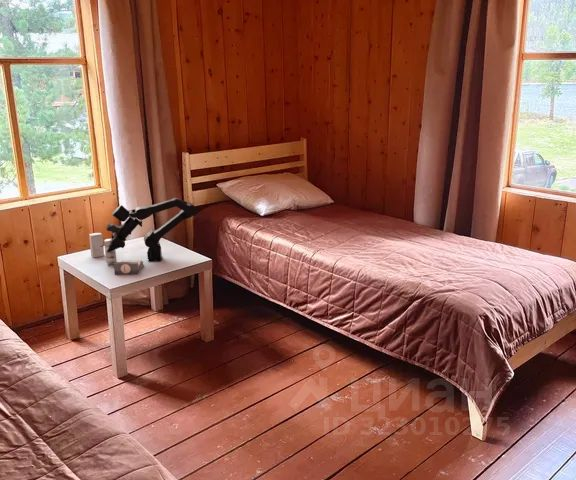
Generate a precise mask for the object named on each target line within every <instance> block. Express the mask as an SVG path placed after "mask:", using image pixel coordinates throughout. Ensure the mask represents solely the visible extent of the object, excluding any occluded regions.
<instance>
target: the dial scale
mask: <svg viewBox="0 0 576 480" xmlns="http://www.w3.org/2000/svg"><path fill="white" fill-rule="evenodd" d="M143 267H144V261H142V259H127V260H126V259H122V260H120V261H117V262H115V263H114V264H113V271H114V275H115V276H118V275H119V276H120V275H121V276H122V275H125V276H126V275H138V274H139V273H140V272H141V270H142V269H143Z"/></svg>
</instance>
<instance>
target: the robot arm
mask: <svg viewBox="0 0 576 480" xmlns="http://www.w3.org/2000/svg"><path fill="white" fill-rule="evenodd" d="M175 207H176V208H178V209H180V210H179V212H178V213H177V214H175V216H173V217H172V218H171V219H169V220H168V221H167V222H165V223H164V224H163V225H161V226H159V228H157V229H155V230H153V229H152V228H151V229H150V230H149V231H147V232H146V233H145V235H144V237H143V241H144V244H145V246H146V247H147V252H146V253H147V254H146V257H147V259H148V260H147V262H161V261H162V259H163V253H162V246H161V243H160V241H161V239H162V237H163V236H165V235H166V234H168V233H169V232H170V231H172V230H173V229H175V227H177V226H178V225H179V224H181V223H182V222H183V221H184V220H188V219H191V218H192V217H194V216H196V215H197V213H198V208H197V207H196V205H195V204H194V203H192V202H187V201H184V200H183V199H180V198H178V197H173V198H170V199H168V200H165V201H162V202H158V203H155V204H152V205H140V206H137V207H135V209H130V210H128V209H127V208H125V207H124V205H123V204H120V205H119V206H118V207H116V208H115V209H114V210H113V211H112V213H111V215H112V217H114V218H115V219H117V221H119V222H120V223H122V222H124V223H122V224H120V225H117V224H114V223H112V222H108V223H107V226H106V231H108V232H111V239H112V244H111V245H110V247H109V248H108V250H107V252H108V253H109V252H111V251H113V250H115V249H116V250H117V249H120V248H121V249H124V248H125V247H126V240H127V238H128V237H129V236H131V235H132V232H133V231H134V230H135V229H136V228H137V226H139V227H141V228H142V227H143V221H142V220H145V219H147V218H149V217H151V216H152V215H154V214H157V213H160V212H162V211H166V210H169V209H172V208H175Z"/></svg>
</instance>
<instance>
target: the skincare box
mask: <svg viewBox="0 0 576 480" xmlns="http://www.w3.org/2000/svg"><path fill="white" fill-rule="evenodd" d="M88 236H89V247H90V248H89V249H90V256H91V257H92V258H98V257H103V256H105V246H104V239H103V234H102V233H101V232H94V233H88Z"/></svg>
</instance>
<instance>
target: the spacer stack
mask: <svg viewBox="0 0 576 480" xmlns="http://www.w3.org/2000/svg"><path fill="white" fill-rule="evenodd" d="M111 244H112V237H111V238H106V239H105V238H104V239H103V245H104V254H105V261H106V262H105V263H106V264H108V265H114V263H115V262H118V261H117V260H118V259H117V252H116V250H117V249H115V250H113V251H111V252H109V253H108V252H107V250H108V248H109V247H110V245H111Z"/></svg>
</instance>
